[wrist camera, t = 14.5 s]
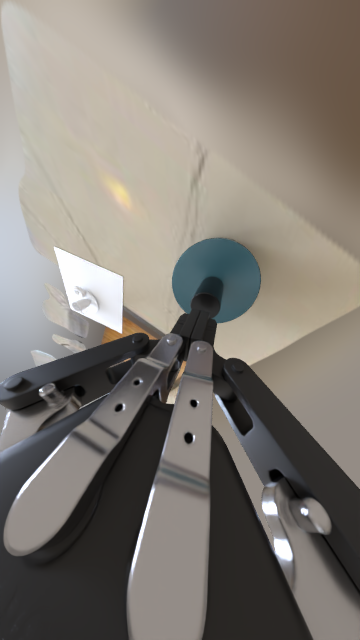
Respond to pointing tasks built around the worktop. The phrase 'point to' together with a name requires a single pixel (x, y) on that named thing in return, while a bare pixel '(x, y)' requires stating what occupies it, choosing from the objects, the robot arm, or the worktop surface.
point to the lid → (216, 279)
